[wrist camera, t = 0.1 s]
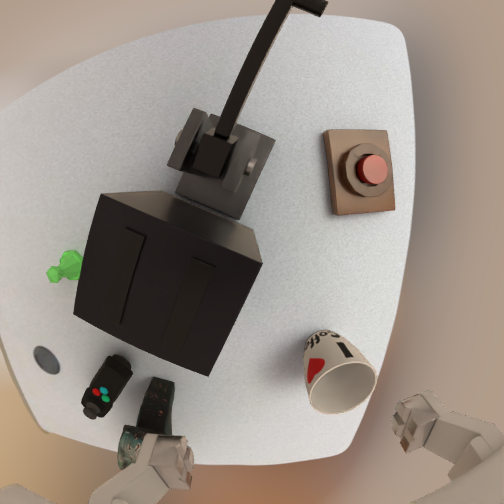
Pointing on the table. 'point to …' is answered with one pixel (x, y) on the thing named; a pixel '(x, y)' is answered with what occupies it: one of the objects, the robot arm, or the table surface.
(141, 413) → the ceramic cat
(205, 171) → the toaster lever
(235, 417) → the table surface
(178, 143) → the toaster bracket
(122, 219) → the toaster
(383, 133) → the control block
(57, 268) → the game piece
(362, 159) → the button
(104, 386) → the controller
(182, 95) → the table surface
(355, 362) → the cup
